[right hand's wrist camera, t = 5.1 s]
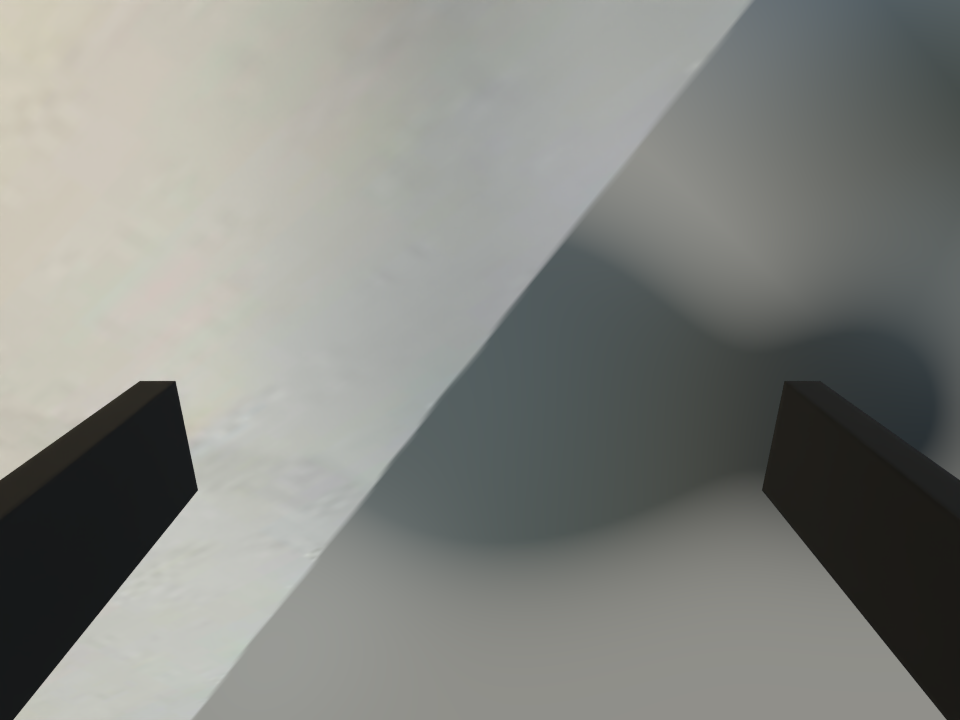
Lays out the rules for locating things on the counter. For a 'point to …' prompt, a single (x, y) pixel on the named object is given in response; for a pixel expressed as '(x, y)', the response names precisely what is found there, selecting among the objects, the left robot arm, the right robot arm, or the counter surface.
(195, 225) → the counter surface
